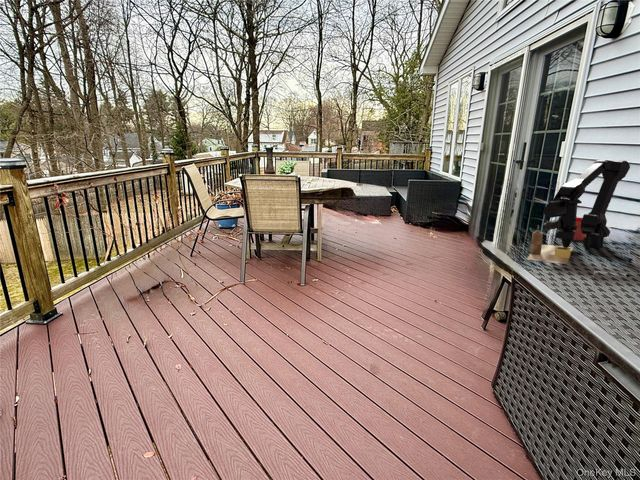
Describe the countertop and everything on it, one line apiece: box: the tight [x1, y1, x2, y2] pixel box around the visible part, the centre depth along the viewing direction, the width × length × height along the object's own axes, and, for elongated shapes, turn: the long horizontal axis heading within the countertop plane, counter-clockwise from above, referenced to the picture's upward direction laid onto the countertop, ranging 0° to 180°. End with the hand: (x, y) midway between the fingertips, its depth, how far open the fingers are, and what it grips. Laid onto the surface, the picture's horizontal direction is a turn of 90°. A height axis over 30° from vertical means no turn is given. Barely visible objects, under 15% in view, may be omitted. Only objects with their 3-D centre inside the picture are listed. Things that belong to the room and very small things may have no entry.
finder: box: [554, 247, 571, 259], centre depth 143 cm, size 5×4×4 cm
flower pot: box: [572, 216, 586, 241], centre depth 168 cm, size 11×11×10 cm
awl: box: [530, 224, 544, 255], centre depth 148 cm, size 4×4×13 cm
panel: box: [526, 244, 574, 265], centre depth 149 cm, size 22×26×1 cm
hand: (565, 249), depth 149 cm, fingers closed
